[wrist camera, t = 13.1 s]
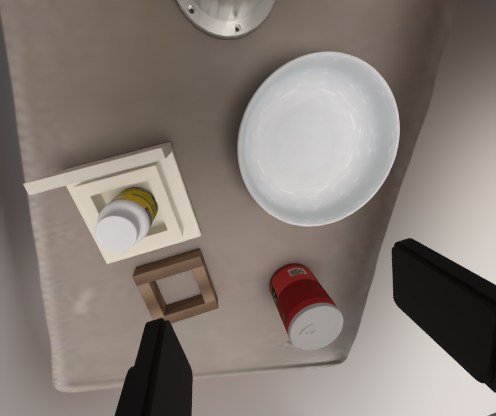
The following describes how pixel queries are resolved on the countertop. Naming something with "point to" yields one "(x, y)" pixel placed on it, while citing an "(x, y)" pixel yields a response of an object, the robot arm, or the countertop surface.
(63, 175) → the cream rack
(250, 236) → the countertop surface
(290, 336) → the canned food
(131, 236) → the supplement bottle
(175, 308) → the walnut socket block
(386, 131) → the serving bowl
